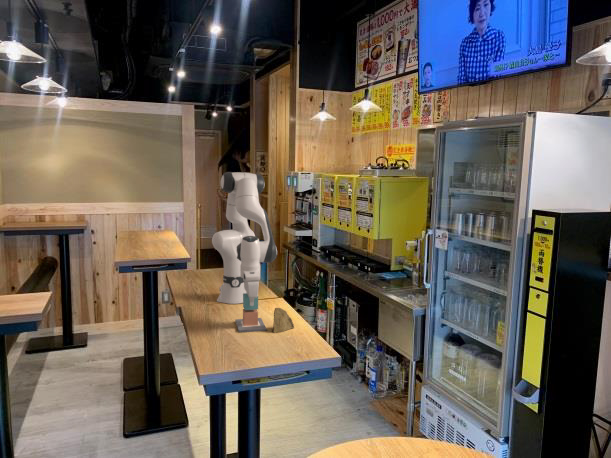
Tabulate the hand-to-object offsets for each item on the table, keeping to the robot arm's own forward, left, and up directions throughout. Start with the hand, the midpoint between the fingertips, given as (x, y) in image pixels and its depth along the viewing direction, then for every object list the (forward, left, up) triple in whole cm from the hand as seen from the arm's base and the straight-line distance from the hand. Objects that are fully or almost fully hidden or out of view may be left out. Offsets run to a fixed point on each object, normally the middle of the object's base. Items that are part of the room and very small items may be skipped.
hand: (250, 303), depth 206 cm
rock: (+8, +13, -11) cm, 19 cm away
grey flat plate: (0, 0, -10) cm, 11 cm away
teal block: (0, 0, -2) cm, 2 cm away
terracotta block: (0, 0, -9) cm, 9 cm away
